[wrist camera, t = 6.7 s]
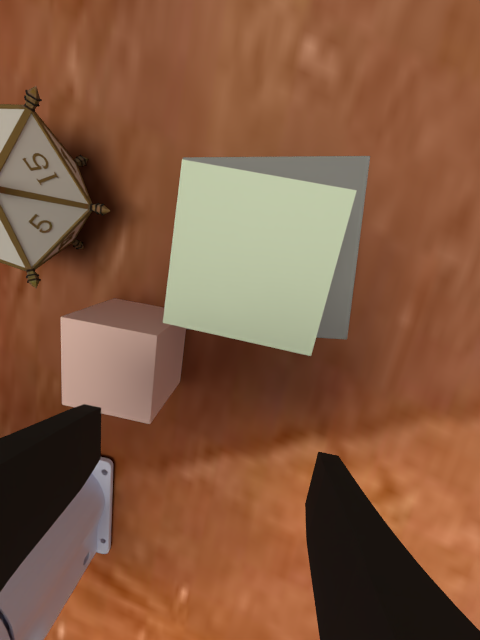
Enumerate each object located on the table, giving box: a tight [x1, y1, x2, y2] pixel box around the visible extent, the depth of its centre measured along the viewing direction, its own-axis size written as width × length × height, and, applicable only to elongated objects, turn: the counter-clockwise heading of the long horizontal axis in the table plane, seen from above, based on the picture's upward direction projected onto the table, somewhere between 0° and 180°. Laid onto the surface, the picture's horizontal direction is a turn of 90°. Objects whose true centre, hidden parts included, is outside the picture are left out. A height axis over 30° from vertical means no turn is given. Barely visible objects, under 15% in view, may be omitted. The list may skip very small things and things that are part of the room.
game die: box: [0, 86, 110, 288], centre depth 14 cm, size 9×8×10 cm
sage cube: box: [163, 159, 357, 356], centre depth 11 cm, size 5×5×5 cm
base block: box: [183, 156, 370, 339], centre depth 16 cm, size 8×8×4 cm
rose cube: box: [61, 298, 186, 424], centre depth 17 cm, size 5×5×5 cm
